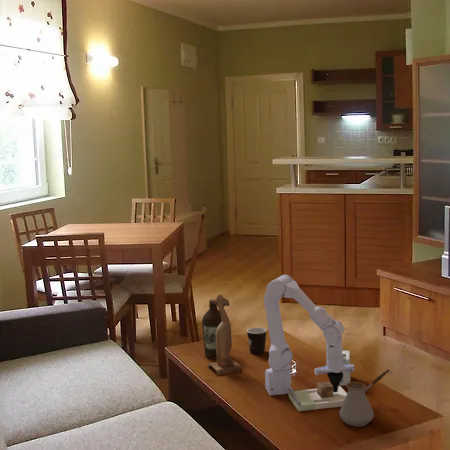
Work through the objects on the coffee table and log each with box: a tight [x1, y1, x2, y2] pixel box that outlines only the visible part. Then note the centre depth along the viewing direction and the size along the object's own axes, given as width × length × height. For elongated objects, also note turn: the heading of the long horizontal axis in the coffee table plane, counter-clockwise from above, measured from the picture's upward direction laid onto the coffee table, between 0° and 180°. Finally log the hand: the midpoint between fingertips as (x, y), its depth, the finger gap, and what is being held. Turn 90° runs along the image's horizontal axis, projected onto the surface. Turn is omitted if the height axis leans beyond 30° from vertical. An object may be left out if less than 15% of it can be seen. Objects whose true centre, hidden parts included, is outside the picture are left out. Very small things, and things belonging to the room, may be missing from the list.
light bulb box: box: [339, 349, 352, 387], centre depth 262 cm, size 11×7×11 cm, turn 168°
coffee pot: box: [338, 368, 393, 428], centre depth 229 cm, size 21×12×15 cm, turn 121°
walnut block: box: [316, 381, 333, 398], centre depth 245 cm, size 5×5×4 cm
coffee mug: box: [246, 327, 267, 356], centre depth 300 cm, size 12×9×10 cm
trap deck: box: [288, 386, 348, 412], centre depth 245 cm, size 20×13×4 cm, turn 100°
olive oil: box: [201, 298, 222, 360], centre depth 296 cm, size 11×11×25 cm
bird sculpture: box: [207, 294, 242, 376], centre depth 278 cm, size 11×12×32 cm
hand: (334, 391), depth 246 cm, fingers closed
